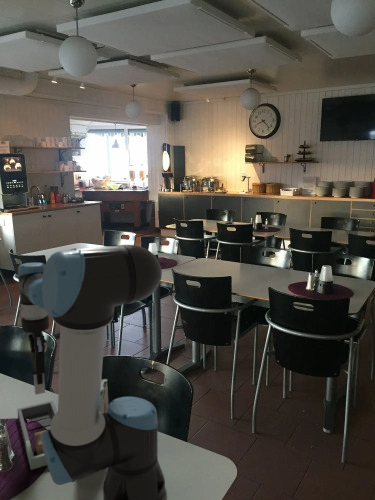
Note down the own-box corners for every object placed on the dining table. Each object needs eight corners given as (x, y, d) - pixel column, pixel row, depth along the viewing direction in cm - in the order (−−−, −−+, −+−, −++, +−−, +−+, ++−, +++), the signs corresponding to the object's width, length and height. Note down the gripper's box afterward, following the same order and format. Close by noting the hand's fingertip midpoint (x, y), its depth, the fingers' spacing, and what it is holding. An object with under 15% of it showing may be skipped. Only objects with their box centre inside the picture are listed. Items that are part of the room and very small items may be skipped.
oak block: (61, 454, 119) (60, 438, 118) (39, 461, 116) (38, 444, 115) (57, 443, 124) (56, 427, 123) (35, 449, 121) (34, 433, 120)
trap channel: (72, 457, 118) (72, 447, 117) (30, 469, 113) (30, 459, 112) (53, 408, 142) (52, 400, 142) (18, 417, 137) (17, 408, 136)
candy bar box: (93, 427, 132) (91, 378, 129) (109, 428, 131) (108, 378, 129) (84, 450, 120) (82, 397, 118) (101, 451, 120) (100, 397, 118)
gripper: (18, 312, 127) (23, 386, 130) (24, 324, 115) (29, 405, 119) (44, 308, 130) (48, 381, 134) (52, 320, 119) (57, 399, 123)
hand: (40, 392), depth 126 cm, fingers closed
